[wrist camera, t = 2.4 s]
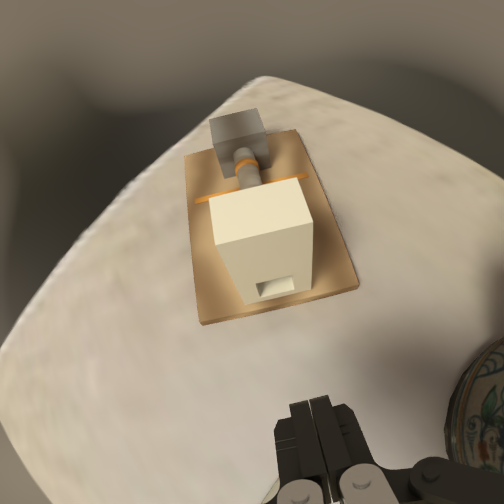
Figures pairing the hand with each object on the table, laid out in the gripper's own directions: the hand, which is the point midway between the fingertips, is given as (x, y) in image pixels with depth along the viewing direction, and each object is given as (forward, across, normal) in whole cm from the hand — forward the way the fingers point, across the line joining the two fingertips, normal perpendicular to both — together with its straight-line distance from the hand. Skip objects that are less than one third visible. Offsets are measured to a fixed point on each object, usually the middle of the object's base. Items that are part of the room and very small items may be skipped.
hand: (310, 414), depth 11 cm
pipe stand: (+28, 0, -4) cm, 28 cm away
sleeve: (+20, 0, +2) cm, 20 cm away
